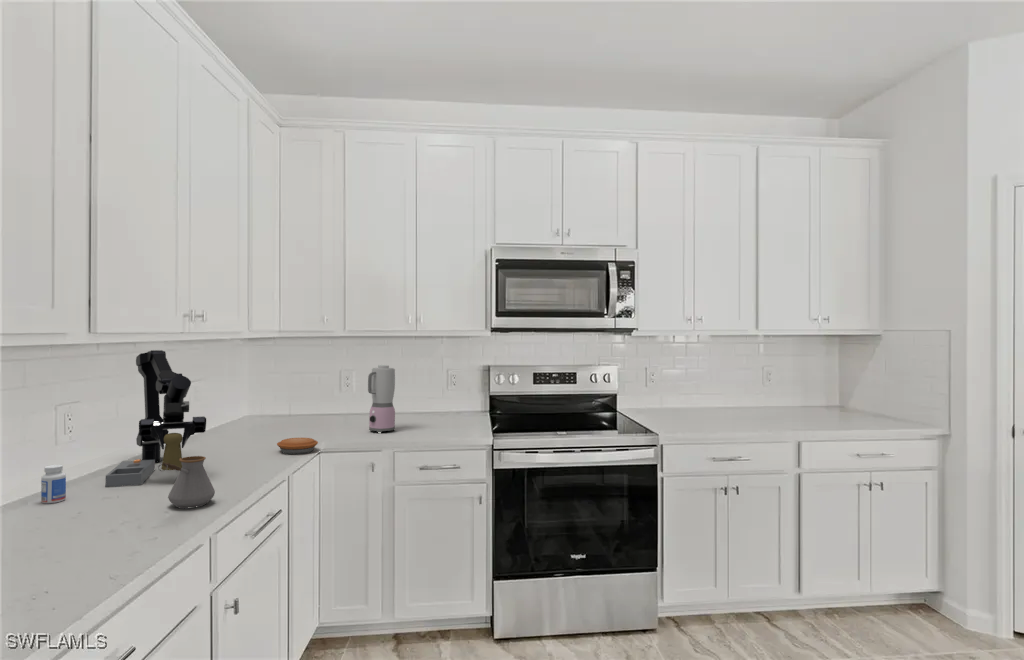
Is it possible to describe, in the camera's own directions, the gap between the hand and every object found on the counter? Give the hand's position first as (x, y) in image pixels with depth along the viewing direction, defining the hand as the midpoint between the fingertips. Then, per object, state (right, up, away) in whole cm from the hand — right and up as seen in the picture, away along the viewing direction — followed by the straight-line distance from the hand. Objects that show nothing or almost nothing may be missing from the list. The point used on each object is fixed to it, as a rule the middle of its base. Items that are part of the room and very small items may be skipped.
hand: (172, 448), depth 185 cm
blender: (+43, -12, +99) cm, 109 cm away
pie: (+21, -12, +51) cm, 56 cm away
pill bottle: (-21, -11, -21) cm, 32 cm away
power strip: (-16, -11, +5) cm, 20 cm away
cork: (-1, -7, +1) cm, 7 cm away
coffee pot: (+18, -12, -26) cm, 33 cm away
